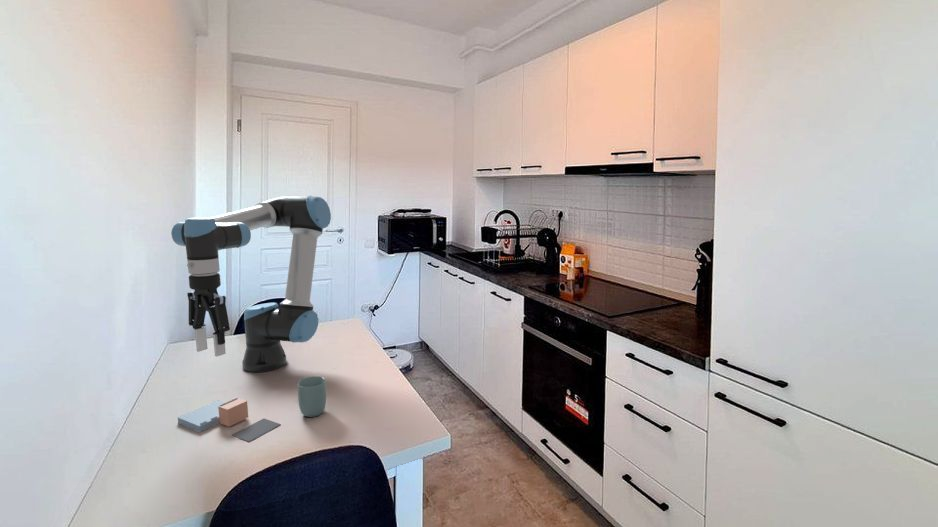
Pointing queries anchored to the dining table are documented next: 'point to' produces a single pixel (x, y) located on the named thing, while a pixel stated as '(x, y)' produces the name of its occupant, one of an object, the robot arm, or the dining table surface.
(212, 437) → the dining table surface
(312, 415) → the cup
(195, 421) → the board
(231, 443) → the dining table surface
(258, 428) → the mat
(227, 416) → the stub
